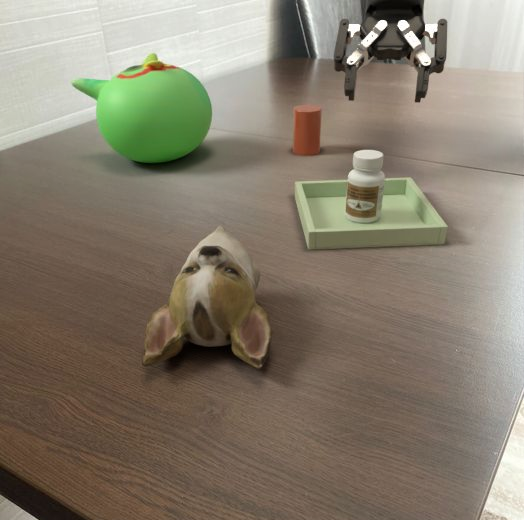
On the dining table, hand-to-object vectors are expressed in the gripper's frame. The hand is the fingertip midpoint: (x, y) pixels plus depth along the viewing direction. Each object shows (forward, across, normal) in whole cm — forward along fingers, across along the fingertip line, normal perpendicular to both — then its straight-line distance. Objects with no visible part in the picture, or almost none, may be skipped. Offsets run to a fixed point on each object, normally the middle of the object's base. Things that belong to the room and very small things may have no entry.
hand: (384, 98), depth 72 cm
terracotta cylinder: (-1, -12, +17) cm, 21 cm away
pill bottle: (+17, -1, -1) cm, 17 cm away
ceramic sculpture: (+36, -12, -20) cm, 43 cm away
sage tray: (+17, -1, -1) cm, 17 cm away
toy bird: (+4, -35, +13) cm, 37 cm away
